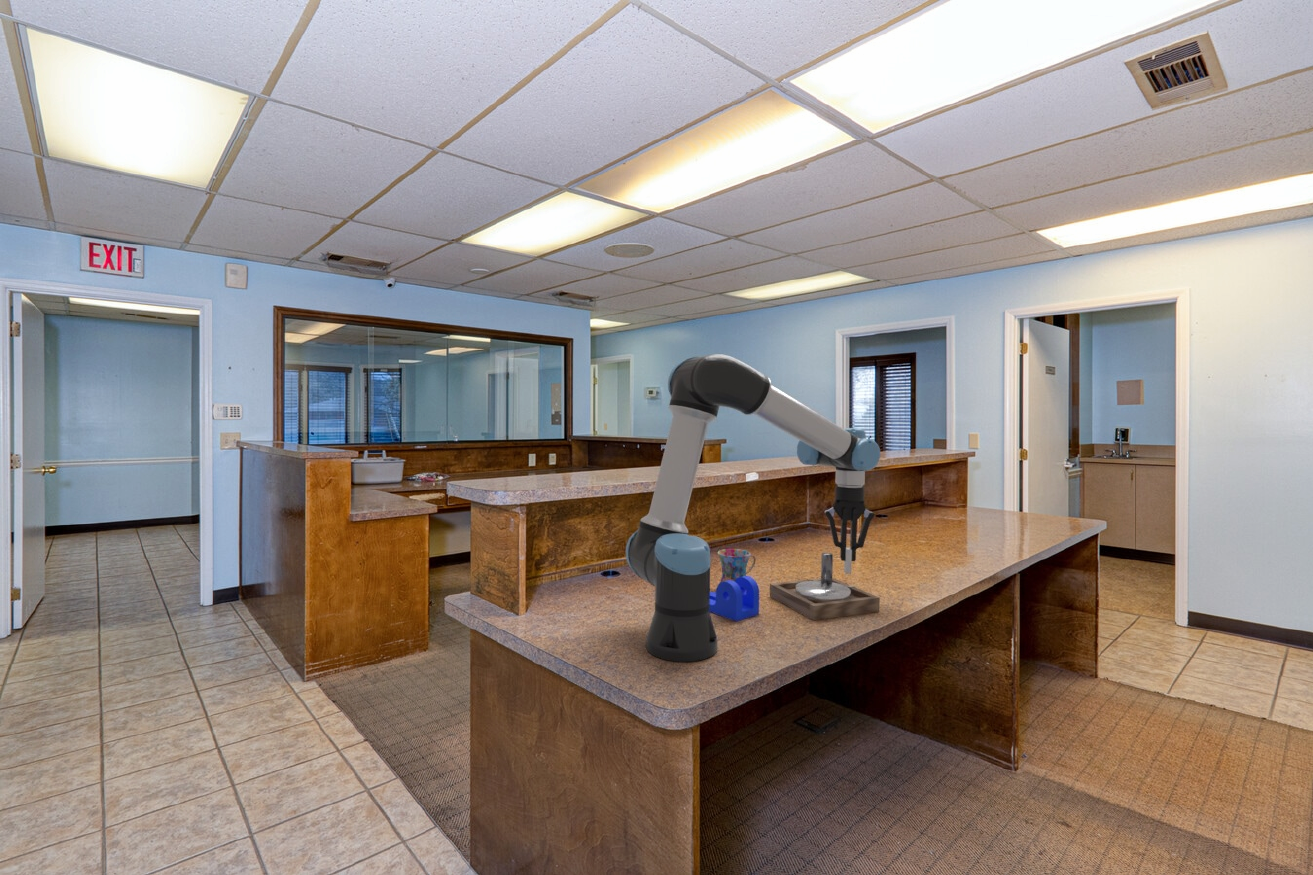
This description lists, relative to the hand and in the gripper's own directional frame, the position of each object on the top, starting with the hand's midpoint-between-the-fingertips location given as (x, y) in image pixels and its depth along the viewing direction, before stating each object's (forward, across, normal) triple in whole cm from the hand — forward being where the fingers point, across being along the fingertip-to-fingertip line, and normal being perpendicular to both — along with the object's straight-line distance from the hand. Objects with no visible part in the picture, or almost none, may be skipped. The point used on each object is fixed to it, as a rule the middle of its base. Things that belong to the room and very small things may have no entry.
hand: (847, 572), depth 164 cm
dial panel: (+7, +7, +5) cm, 11 cm away
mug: (+8, +29, -4) cm, 31 cm away
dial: (+5, +7, +5) cm, 10 cm away
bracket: (+8, +33, +14) cm, 37 cm away
